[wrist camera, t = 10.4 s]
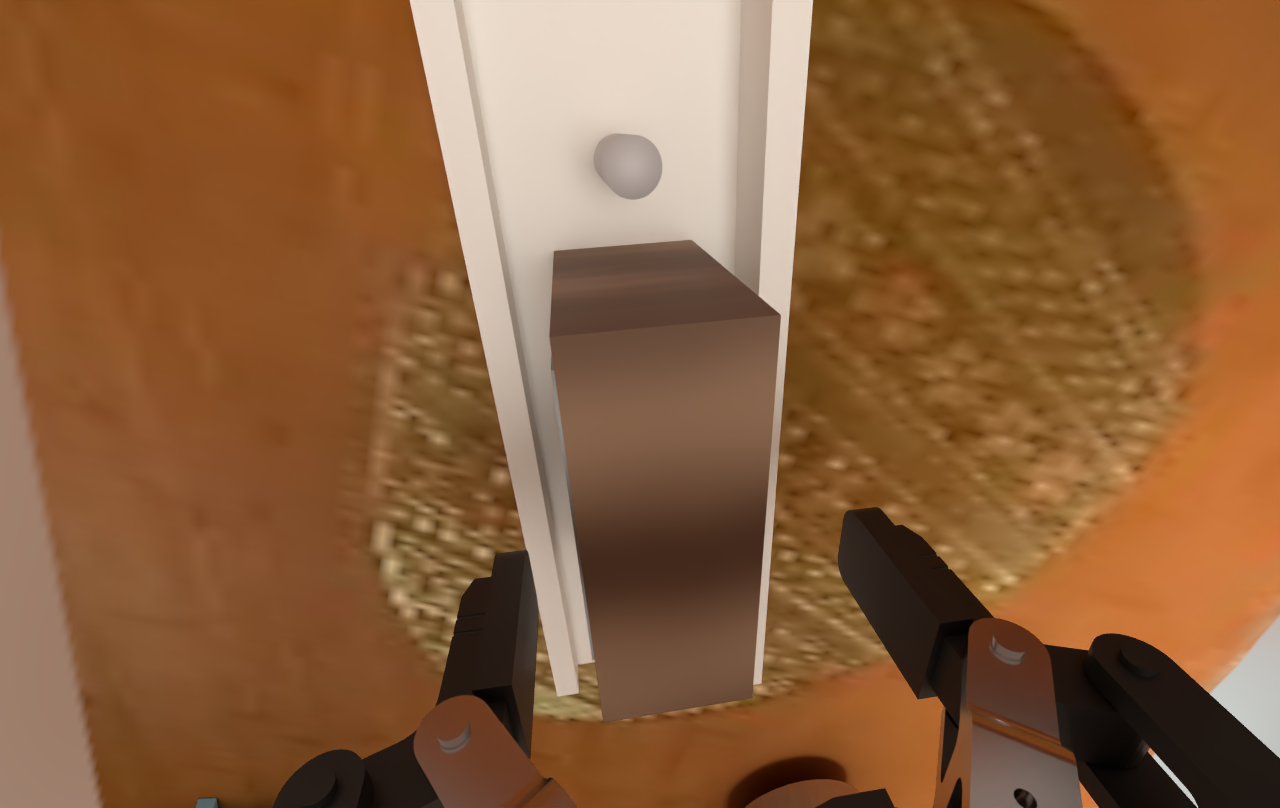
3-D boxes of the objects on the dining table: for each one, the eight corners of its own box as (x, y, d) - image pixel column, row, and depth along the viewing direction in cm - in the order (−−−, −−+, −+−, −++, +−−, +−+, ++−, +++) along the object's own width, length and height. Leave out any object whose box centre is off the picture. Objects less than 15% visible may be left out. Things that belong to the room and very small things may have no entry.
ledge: (736, 614, 28) (772, 714, 23) (557, 641, 27) (557, 751, 23) (761, -66, 15) (855, -158, 10) (421, -54, 14) (349, -149, 9)
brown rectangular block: (696, 523, 23) (757, 697, 16) (586, 538, 23) (598, 723, 15) (696, 239, 17) (788, 314, 10) (549, 250, 17) (541, 337, 10)
